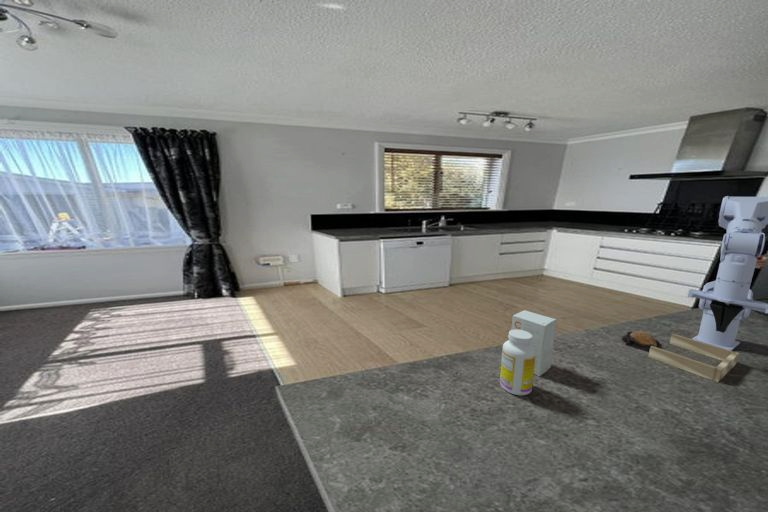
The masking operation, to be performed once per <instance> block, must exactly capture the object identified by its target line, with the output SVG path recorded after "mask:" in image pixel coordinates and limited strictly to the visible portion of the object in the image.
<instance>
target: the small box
mask: <svg viewBox="0 0 768 512" xmlns="http://www.w3.org/2000/svg"><path fill="white" fill-rule="evenodd" d="M556 324H557V319H556V318H552V317H549V316H547V315H546V316H545V315H542V314H539V313H535V312H532V311H529V310H525V309H524V310H521V311H519V312H517V313H515V314H513V315H512V320H511V330H523V331H526V332H529V333H530V334H531V335H532V342H531V345H532V346H533V347H534V348H535V350H536V357H535V367H534V375H535V376H538V377H541V376H542V375H543V374H545V373H546V372H547V371H549V369H551V367H552V360H553V353H554V352H553V350H554V345H555V344H554V342H555V336H556V335H555V334H556Z"/></svg>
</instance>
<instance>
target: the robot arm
mask: <svg viewBox="0 0 768 512" xmlns="http://www.w3.org/2000/svg"><path fill="white" fill-rule="evenodd" d="M718 215H719V217H718V222H717V223H718V226H719V227H721V228H723V229H724V230H726V233H724V234H723V238H722V241H721V246H720V257H719V258H720V260H719V261H720V262H719V264H718V265H719V266H718V270H717V274H716V279H715V280H713V281H710V282H707V283H705V285H703V289H702V290H700V289H699V290H698V289H694V288H691V289H689V290H688V292H687V298H692V299H693V298H695V299H699V303H698V308H699V309H700V310H702V318H701V322H700V326H699V331H698V334H697V335H695V336H694V337H692V339H693V340H696V341H700V342H703V343H706V344H710V345H713V346H716V347H720V348H723V349H727V350H730V351H733V350H734V349H735V348H737V347H738V345H740V343H741V342H740V341H737V340H736V337H737V335H738V334H737V333H738V331H739V326H740V322H741V320H742V318H744V319H745V318H748V317H750V314H751V310H753V311H757V312H762V313H765V314H768V303H765V302H763V301H762V302H761V301H758V300H754V299H753V296H754V292H753V291H752V289H751V283H752V279H753V276H754V272H755V269H756V265H757V262H758V261H757V260H758V258H760V256H761V255H762V253H763V251H764V247H765V244H766V243H765V242H766V234H765V233H764V232H762V231H763V229H765V228H766V226H767V225H768V196H729V195H727V196H726V195H725V196H724V197H723V198H722V201H721V205H720V210H719V214H718Z"/></svg>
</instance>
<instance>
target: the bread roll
mask: <svg viewBox="0 0 768 512" xmlns="http://www.w3.org/2000/svg"><path fill="white" fill-rule="evenodd" d="M621 340H622V342H623V343H624V345H625V346H627V347H630V348H633V349H637V350H641V351H644V352H648V353H649V351H650V347H651V346H654V347H657V348H659V347H660V345H661V343H660V341H659V340H658V339H655V337H653V336H652V335H651V334H649V333H648V332H644V331H638V330H637V331H628V332H626V333H625V334H624V335H623V336H622V337H621Z"/></svg>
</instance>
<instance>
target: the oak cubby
mask: <svg viewBox="0 0 768 512" xmlns="http://www.w3.org/2000/svg"><path fill="white" fill-rule="evenodd" d="M669 344H670V345H672V346H675V347H679V348H680V349H681V348H682V349H684V350H687V351H691V352H693V353H697V354H700V355H703V356H707V357H709V358H712V359H715V360H719V361H721V362H720V363H719V364H718V365H717V366H713V365H710V364H708V363H704V362H701V361H699V360H696V359H692V358H690V357H687V356H683V355H680V354H678V353H674V352H672V351H669V350H665V349H662V348H659V347H658V348H657V347H654V346H651V347H650V351H649V352H648V358H650V359H653V360H656V361H658V362H661V363H663V364H666V365H670V366H672V367H674V368H677V369H681V370H683V371H686V372H689V373H692V374H694V375H696V376H700V377H701V378H702V377H703V378H705V379H708V380H710V381H713V382H715V383H719V382H720V381H721V380H722V379H723V378H724V377H725V376H726V375H727V374H728V373H729V372H730V371H731V370H732V369H733V368H734V367H735V366H736V365H737V362H738V360H739V355H740V353H739V352H736V351H733V350H732V351H730V350H727V349H723V348H720V347H716V346H713V345H710V344H706V343H703V342H700V341H696V340H693V338H688V337H685V336H683V335H682V336H681V335H680V334H679V335H678V334H675V333H672V334H671V336H670V340H669Z"/></svg>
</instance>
